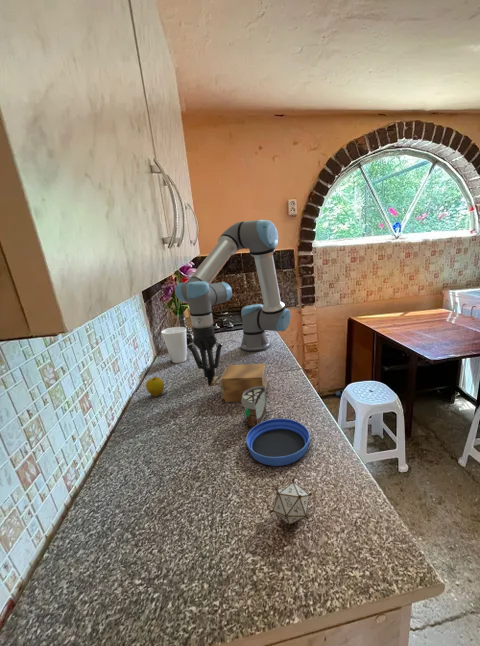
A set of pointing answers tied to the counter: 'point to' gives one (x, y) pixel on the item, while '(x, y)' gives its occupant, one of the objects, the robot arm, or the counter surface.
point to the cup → (176, 343)
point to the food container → (254, 405)
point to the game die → (291, 503)
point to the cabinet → (242, 380)
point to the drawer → (219, 383)
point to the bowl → (278, 441)
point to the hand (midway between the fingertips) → (211, 384)
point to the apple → (155, 386)
